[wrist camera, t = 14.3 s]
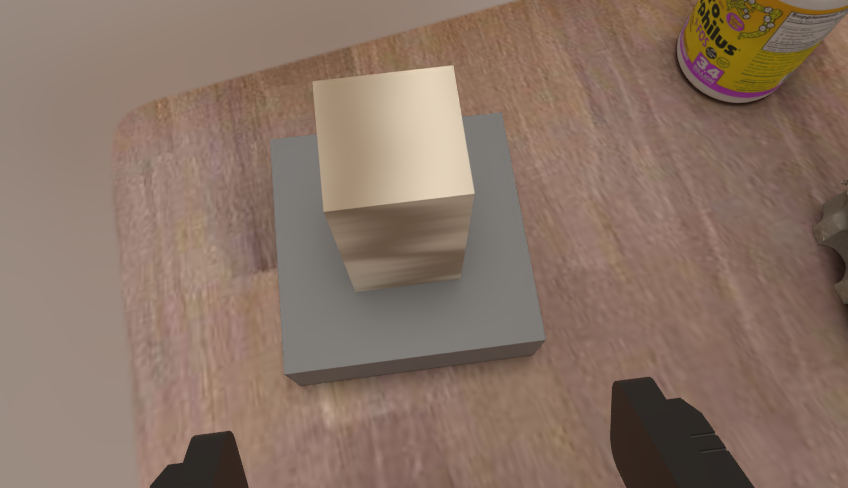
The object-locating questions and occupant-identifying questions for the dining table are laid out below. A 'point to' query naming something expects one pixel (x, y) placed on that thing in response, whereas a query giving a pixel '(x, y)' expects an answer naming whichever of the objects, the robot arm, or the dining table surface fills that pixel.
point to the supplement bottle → (752, 43)
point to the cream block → (395, 175)
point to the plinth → (406, 305)
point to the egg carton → (836, 234)
